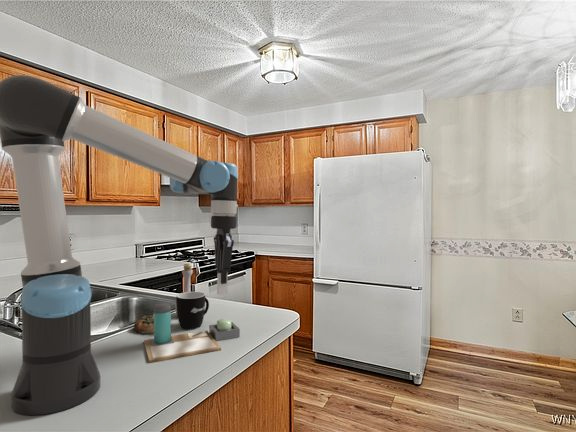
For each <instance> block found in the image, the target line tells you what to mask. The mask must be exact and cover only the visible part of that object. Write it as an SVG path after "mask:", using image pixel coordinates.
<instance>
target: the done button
mask: <svg viewBox="0 0 576 432" xmlns="http://www.w3.org/2000/svg"><path fill="white" fill-rule="evenodd" d="M231 322H232V320H231V319H230V318H229V319H228V318H221V319H217V321H216V324H217V330H218V331H222V330H229V329H231Z"/></svg>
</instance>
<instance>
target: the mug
mask: <svg viewBox="0 0 576 432" xmlns="http://www.w3.org/2000/svg"><path fill="white" fill-rule="evenodd" d="M175 302H176V305H177V313H176V314H177V315H176V316H177V321H178V325H179V327H180V328H181V329H182V330H188V329H189V330H196V329H198V328H200V327H201V326H202V325H203V321H204V316H205V315H206V314H207V312H208V310H209V308H210V303H209V302H210V301H209V299H208V298H206V293H205V292H201V291H190V292H185V293H184V292H181V293H178V294H177V295H176V299H175Z"/></svg>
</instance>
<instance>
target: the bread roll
mask: <svg viewBox="0 0 576 432" xmlns="http://www.w3.org/2000/svg"><path fill="white" fill-rule="evenodd" d="M132 331H133V332H134V331H135V332H134V333H136V334H144V335H154V313H152V314H150V315H147V316H146V315H144V316H143V317H140V318H139V319H137V321H136V322H135V323H134V325H133V329H132Z"/></svg>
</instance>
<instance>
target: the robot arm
mask: <svg viewBox="0 0 576 432" xmlns="http://www.w3.org/2000/svg"><path fill="white" fill-rule="evenodd" d="M68 140H74V141H76V142H79V143H81V144H84V145H86V146H89V147H91V148H94V149H96V150H98V151H101V152H104V153H106V154H109V155H111V156H113V157H117V158H119V159H121V160H125V161H126V162H129V163H131V164H132V163H133V164H135V165H137V166H140V167H142V168H145V169H146V170H150V171H152V172H155V173H158V174H160V175H163V176H164V177H168V178H169V188H170V190H171V191H172V192H173V193H178V194H181V195H182V194H183V195H184V194H190V195H191V194H193V195H211V199H210V200H211V201H210V203H211V204H210V214H213V215H211V217H210V227H211V228H212V229H216V234H215V235H214V236H213V242H214V263H215V265H214V267H215V269H216V273H217V274H216V275H217V277H216V279H217V280H216V281H217V282H216V283H217V284H216V294H217V295H219V296H220V295H221V296H223V295H228V279H229V278H228V277H229V272H231V267H232V256H233V247H234V244H235V241H234V239H233V238H232V237H233V236H232V233H231V230H232V229H233V230H234V229H236V228H237V221H238V219H237V218H238V217H236V214H238V212H237V211H238V209H237V208H238V207H239V204H238V181H239V178H238V177H239V176H238V166H237V165H236V164H235V163H232V162H231V163H230V162H222V161H218V160H207V159H206V158H203V157H200V156H198V155H197V154H196V155H195V154H194V153H191V152H189V151H187V150H185V149H182V148H180V147H178V146H175V145H174V144H172V143H170V142H167V141H165V140H163V139H160V138H158V137H156V136H154V135H151V134H150V133H148V132H145V131H144V130H140V129H139V128H137V127H135V126H132V125H131V124H129V123H128V124H127V123H125V122H124V121H122V120H119V119H117V118H114V117H112V116H110V115H108V114H106V113H103V112H101V111H99V110H97V109H94V108H92V107H91V106H89V105H87V104H86V103H85V101H84V100H83V98H82V97H81V96H78V95H76V94H74V93H71V92H69V91H67V90H66V89H64V88H61V87H59V86H57V85H55V84H53V83H50V82H49V81H46V80H43V79H41V78H39V77H35V76H31V75H27V74H26V75H24V74H22V75H21V74H20V75H18V74H17V75H11V76H8V77H5V78H4V79H2V80H1V81H0V143H1V144H0V145H1V149H2V150H3V151H4V153H6V154H8V155H9V156H10V157H11V158H12V159H11V160H12V165H13V170H14V171H13V172H14V173H13V174H14V179H15V185H16V192H17V199H18V207H19V211H20V212H19V213H20V218H21V219H20V221H21V227H22V233H23V239H24V247H25V255H26V260H27V264H26V266H25V267H24V268H23V269H22V270H21V271H20V276H21V284H22V290H21V296H20V305H21V320H22V321H21V333H22V334H21V335H22V336H21V339H22V343H21V344H22V345H21V347H22V348H21V349H22V351H21V352H22V364H21V367H20V369H19V372H18V376H17V378H16V380H15V383H14V385H13V386H14V387H13V389H12V392H11V395H10V396H11V398H10V399H11V409H12V411H14V412H15V413H17V414H20V415H27V416H37V415H38V416H39V415H47V414H54V413H58V412H61V411H64V410H68V409H70V408H73V407H76V406H78V405H80V404H82V403H84V402H86V401H87V400H89V399H91V398H92V397H93V396H95V395H96V394H97V393H98V391H99V390H100V388H101V374H100V370H99V368H98V366H97V363H96V360H95V358H94V355H93V353H92V346H91V345H92V344H91V342H92V341H91V340H92V339H91V338H92V337H91V336H92V334H91V333H92V332H91V331H92V330H91V327H92V326H91V325H92V324H91V323H92V322H91V318H92V315H91V311H92V310H91V300H92V296H93V295H92V288H91V283H90V281H89V280H88V278H86V277H84V276H83V273H82V267H81V265H82V264H81V262H80V261H79V260H77V259H75V258H74V257H73V255H72V248H71V241H70V231H69V225H68V218H67V211H66V205H65V203H66V202H65V197H64V188H63V182H62V175H61V167H60V160H59V159H60V158H59V156H60V155H61V154H62V153H63V151H65V141H68Z"/></svg>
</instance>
